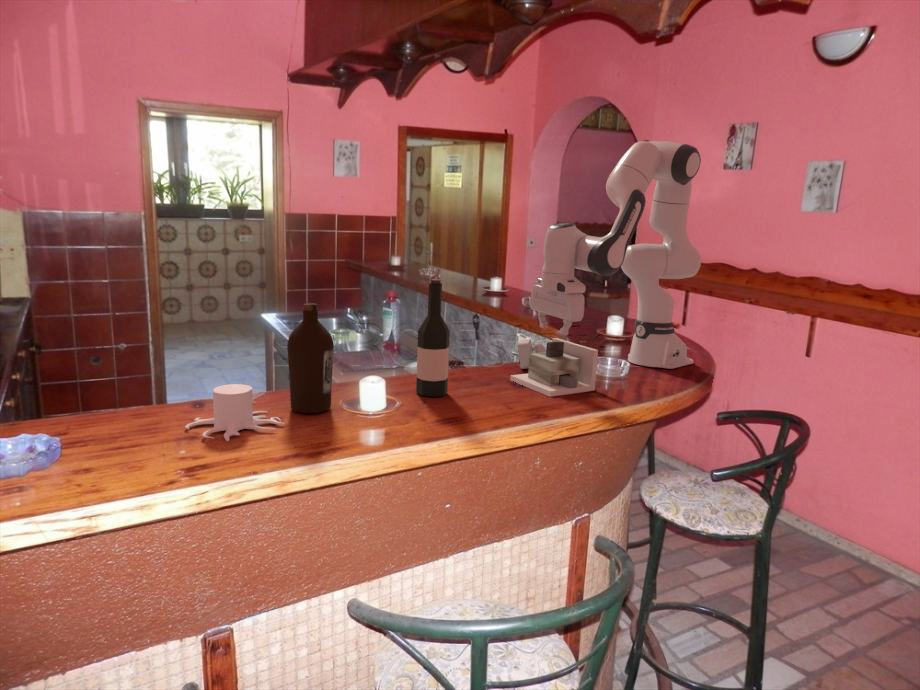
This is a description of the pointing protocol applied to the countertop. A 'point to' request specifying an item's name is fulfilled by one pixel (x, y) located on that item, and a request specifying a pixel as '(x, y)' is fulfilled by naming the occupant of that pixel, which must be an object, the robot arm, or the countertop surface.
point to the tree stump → (234, 411)
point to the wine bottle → (433, 347)
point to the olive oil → (310, 363)
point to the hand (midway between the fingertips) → (553, 331)
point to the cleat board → (549, 388)
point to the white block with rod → (528, 351)
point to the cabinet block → (552, 364)
